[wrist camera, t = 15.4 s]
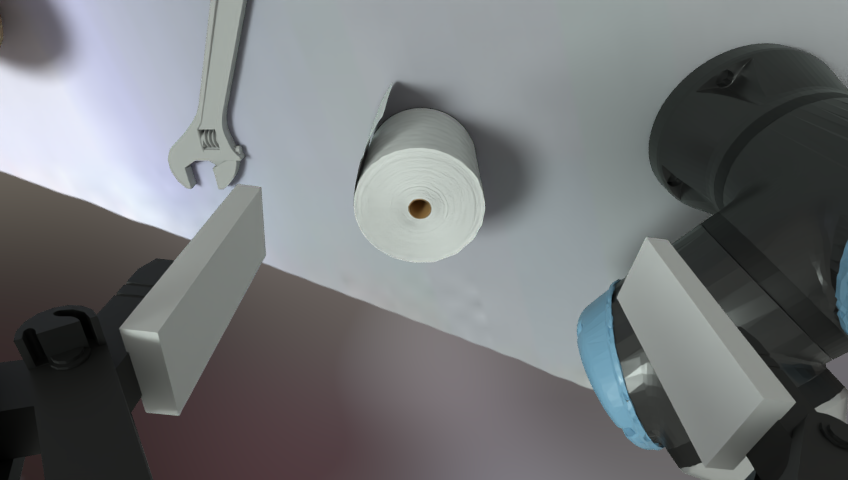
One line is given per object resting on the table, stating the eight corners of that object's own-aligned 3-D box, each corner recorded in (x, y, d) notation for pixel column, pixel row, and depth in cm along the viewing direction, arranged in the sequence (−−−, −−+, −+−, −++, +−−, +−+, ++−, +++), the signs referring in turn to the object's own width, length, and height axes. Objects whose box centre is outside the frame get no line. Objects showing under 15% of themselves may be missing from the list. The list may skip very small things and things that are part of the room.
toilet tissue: (432, 224, 49) (432, 282, 40) (336, 162, 45) (314, 212, 37) (498, 150, 44) (513, 198, 36) (397, 73, 40) (387, 107, 32)
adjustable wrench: (229, -104, 34) (220, -106, 32) (311, -58, 35) (306, -58, 34) (171, 170, 46) (163, 177, 45) (233, 195, 48) (227, 203, 46)
